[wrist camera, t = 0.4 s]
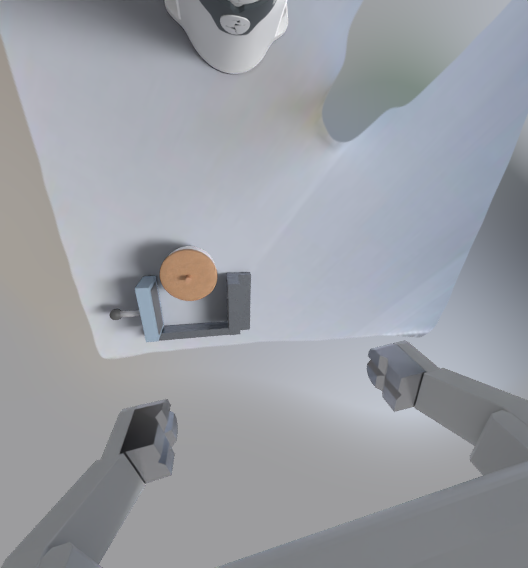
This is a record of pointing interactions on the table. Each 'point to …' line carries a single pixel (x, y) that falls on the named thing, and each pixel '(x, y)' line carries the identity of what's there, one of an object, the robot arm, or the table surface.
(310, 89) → the table surface
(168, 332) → the vise body
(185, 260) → the lidded jar
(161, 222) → the table surface
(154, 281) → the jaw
